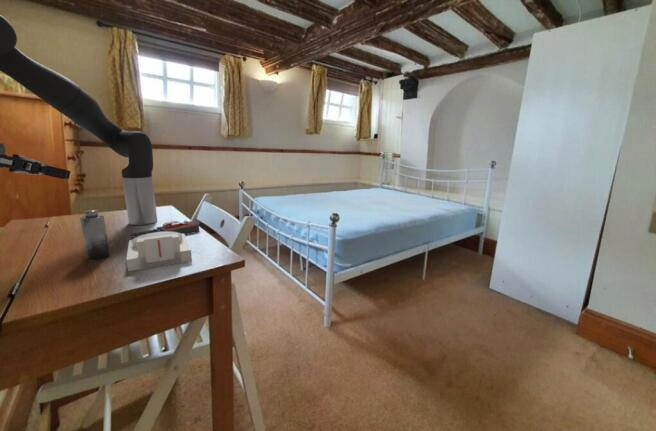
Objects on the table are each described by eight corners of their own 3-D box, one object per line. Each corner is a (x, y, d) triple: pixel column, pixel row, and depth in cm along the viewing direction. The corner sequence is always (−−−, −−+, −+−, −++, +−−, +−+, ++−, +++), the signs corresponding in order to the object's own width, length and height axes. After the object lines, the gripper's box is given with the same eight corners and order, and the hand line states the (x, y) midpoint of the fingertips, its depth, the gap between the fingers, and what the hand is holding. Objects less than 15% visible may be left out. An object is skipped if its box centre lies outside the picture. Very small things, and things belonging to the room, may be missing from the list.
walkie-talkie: (192, 226, 108) (130, 238, 94) (191, 215, 107) (128, 225, 93) (203, 231, 103) (139, 245, 88) (202, 219, 102) (137, 231, 87)
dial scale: (130, 250, 83) (127, 224, 81) (184, 242, 90) (182, 219, 89) (128, 272, 70) (123, 242, 68) (192, 261, 77) (189, 234, 75)
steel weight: (89, 255, 79) (80, 210, 76) (111, 252, 81) (103, 208, 78) (86, 261, 75) (77, 213, 72) (109, 258, 77) (101, 212, 74)
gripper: (-41, 131, 56) (70, 158, 66) (-18, 139, 67) (74, 161, 77) (-53, 169, 55) (61, 190, 65) (-27, 170, 67) (66, 189, 77)
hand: (68, 175), depth 71 cm, fingers open, 8 cm apart
